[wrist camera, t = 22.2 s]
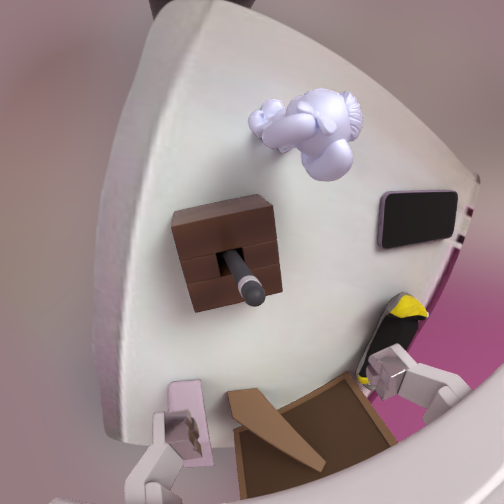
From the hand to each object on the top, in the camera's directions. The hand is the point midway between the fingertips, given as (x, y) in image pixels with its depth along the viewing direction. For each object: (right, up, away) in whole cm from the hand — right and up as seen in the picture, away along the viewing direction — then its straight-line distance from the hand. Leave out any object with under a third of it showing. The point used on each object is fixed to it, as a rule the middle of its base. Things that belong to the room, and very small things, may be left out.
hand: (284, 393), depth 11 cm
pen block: (-4, +7, +17) cm, 19 cm away
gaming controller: (+19, -6, +28) cm, 34 cm away
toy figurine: (+1, +18, +14) cm, 23 cm away
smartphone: (+21, +11, +22) cm, 32 cm away
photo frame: (+3, -16, +29) cm, 33 cm away
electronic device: (-11, -15, +25) cm, 31 cm away
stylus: (-4, +7, +17) cm, 19 cm away
